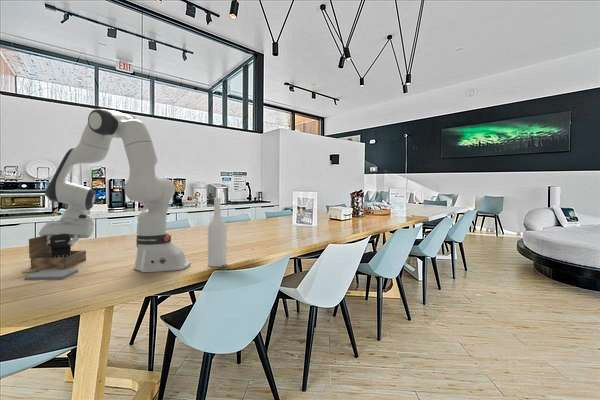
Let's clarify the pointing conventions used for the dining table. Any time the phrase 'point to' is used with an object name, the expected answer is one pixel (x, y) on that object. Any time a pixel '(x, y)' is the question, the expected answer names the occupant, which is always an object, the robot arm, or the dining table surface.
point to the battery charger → (60, 245)
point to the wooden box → (50, 256)
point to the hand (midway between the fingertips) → (59, 245)
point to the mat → (51, 274)
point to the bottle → (217, 238)
